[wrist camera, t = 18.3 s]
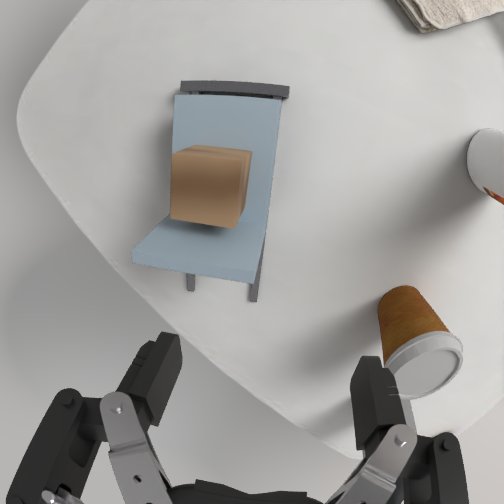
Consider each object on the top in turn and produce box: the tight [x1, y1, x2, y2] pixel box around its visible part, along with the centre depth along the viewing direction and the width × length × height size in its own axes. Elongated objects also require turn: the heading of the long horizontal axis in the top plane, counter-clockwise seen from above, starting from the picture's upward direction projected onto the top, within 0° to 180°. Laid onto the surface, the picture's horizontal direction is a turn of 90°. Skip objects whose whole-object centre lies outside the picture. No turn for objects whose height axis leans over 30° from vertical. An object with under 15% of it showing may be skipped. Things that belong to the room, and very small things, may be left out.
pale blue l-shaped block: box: [131, 95, 281, 284], centre depth 22 cm, size 12×9×12 cm
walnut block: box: [170, 145, 252, 229], centre depth 22 cm, size 5×5×5 cm
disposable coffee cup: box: [378, 286, 463, 400], centre depth 28 cm, size 10×10×12 cm
